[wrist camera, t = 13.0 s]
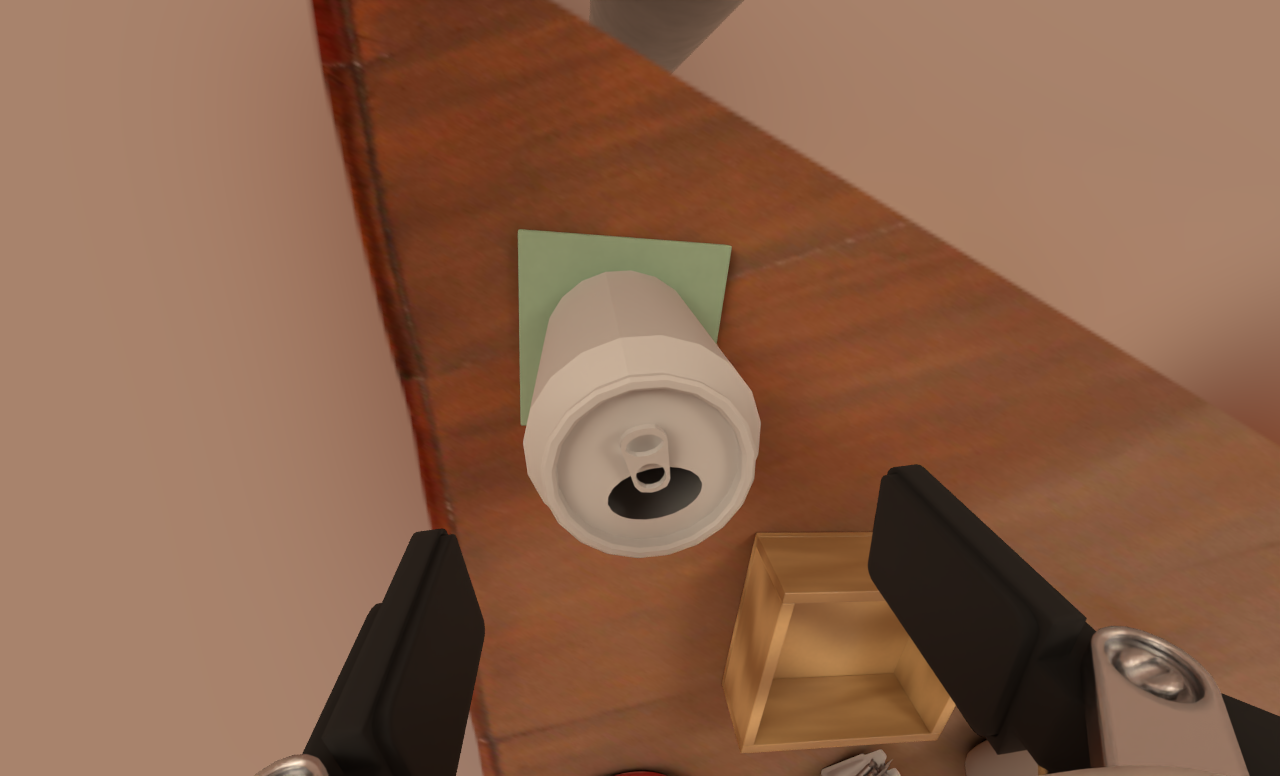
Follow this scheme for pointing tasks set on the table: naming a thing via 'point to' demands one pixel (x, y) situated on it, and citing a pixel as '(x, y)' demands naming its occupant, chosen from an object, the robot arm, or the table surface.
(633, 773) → the flower pot
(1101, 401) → the table surface
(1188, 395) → the table surface
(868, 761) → the spaceship
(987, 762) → the jar
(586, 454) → the can
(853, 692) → the wooden box
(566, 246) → the mat
